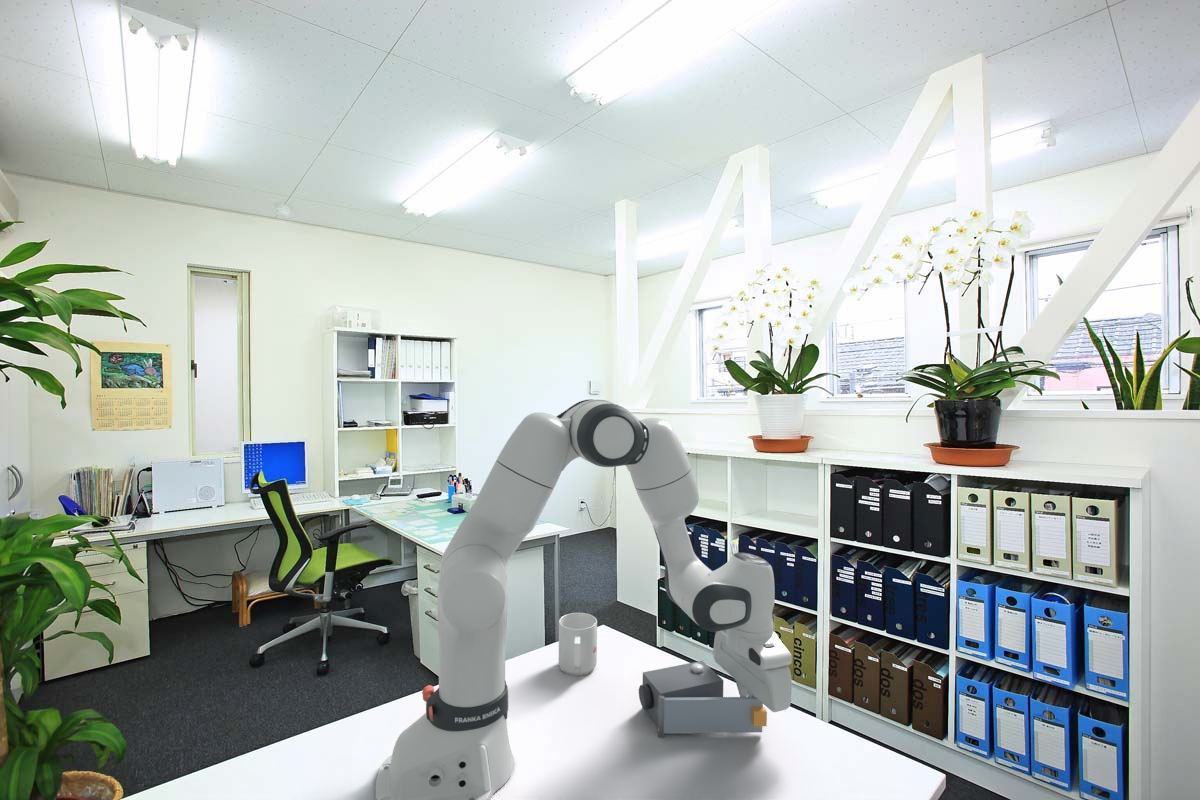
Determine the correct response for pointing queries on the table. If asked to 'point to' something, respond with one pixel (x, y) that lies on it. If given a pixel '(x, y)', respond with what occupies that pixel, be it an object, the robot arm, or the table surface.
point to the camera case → (678, 685)
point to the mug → (577, 643)
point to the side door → (710, 715)
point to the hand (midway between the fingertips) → (747, 707)
